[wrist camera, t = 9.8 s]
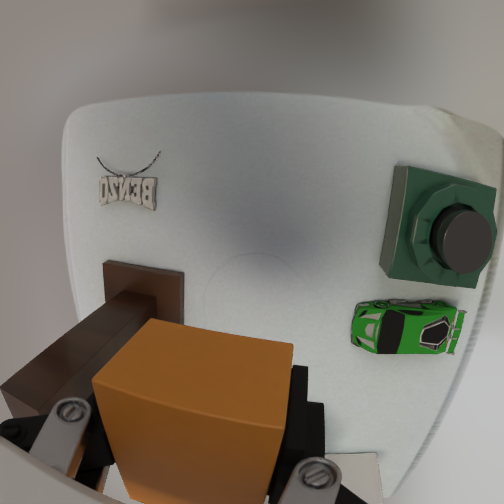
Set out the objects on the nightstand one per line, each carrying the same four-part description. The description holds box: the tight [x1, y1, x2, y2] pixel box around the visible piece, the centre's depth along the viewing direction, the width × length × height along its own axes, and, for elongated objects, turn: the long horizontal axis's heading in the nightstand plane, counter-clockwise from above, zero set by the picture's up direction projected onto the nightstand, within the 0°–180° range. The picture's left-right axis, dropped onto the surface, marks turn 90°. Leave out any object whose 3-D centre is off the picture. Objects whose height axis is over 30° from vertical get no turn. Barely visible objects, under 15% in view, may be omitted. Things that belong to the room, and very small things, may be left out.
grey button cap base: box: [379, 166, 497, 289], centre depth 20 cm, size 8×8×5 cm
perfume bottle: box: [325, 453, 384, 504], centre depth 25 cm, size 8×2×12 cm, turn 90°
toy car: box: [351, 300, 467, 355], centre depth 24 cm, size 10×5×2 cm, turn 90°
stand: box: [0, 260, 184, 418], centre depth 20 cm, size 8×8×17 cm
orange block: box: [92, 318, 293, 504], centre depth 8 cm, size 6×4×4 cm
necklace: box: [97, 151, 161, 211], centre depth 25 cm, size 7×1×5 cm
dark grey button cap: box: [431, 207, 493, 274], centre depth 17 cm, size 4×4×2 cm
